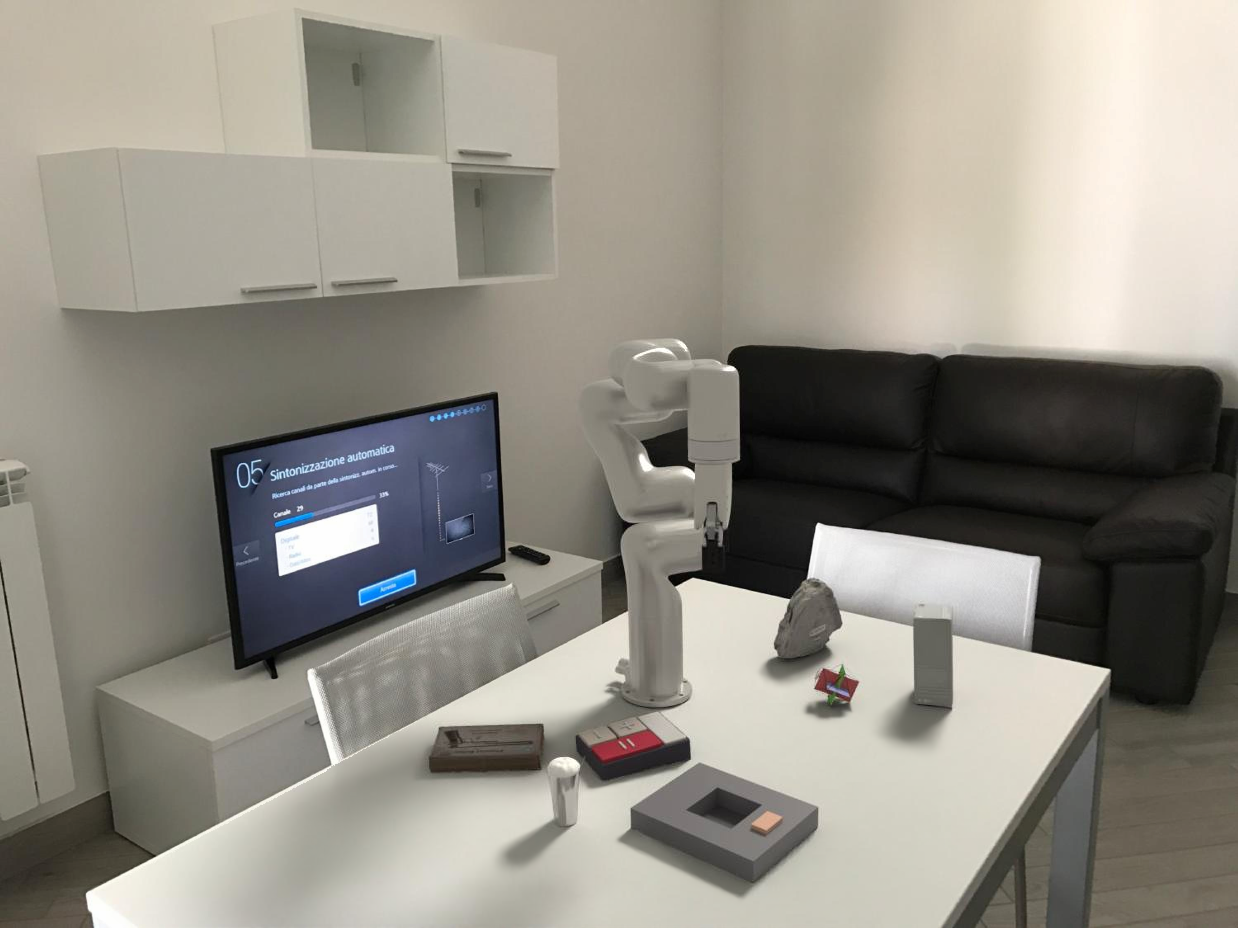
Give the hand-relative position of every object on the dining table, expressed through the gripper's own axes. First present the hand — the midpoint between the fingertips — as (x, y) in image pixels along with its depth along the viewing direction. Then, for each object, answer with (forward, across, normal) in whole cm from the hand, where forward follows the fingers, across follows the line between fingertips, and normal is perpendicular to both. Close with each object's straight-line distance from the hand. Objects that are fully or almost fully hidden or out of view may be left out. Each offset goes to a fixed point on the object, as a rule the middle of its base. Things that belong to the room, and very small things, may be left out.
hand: (715, 562), depth 153 cm
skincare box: (+32, -26, +35) cm, 55 cm away
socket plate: (+32, +19, +2) cm, 37 cm away
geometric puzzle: (+32, -22, +19) cm, 43 cm away
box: (+32, +3, -36) cm, 48 cm away
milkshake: (+32, +20, -20) cm, 42 cm away
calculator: (+32, 0, -14) cm, 35 cm away
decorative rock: (+31, -44, +14) cm, 56 cm away
